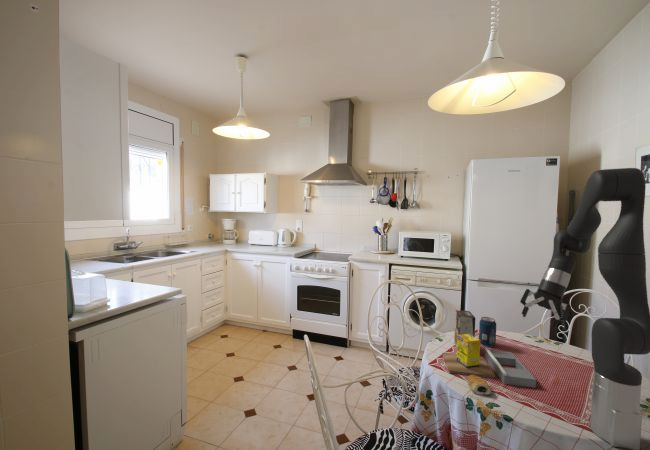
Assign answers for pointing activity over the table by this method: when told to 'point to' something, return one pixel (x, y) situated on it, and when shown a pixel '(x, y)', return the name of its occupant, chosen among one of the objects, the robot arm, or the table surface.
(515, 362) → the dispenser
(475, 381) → the pastry
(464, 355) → the supplement box
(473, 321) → the coffee box
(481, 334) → the soda can
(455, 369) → the tan flat board
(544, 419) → the table surface
